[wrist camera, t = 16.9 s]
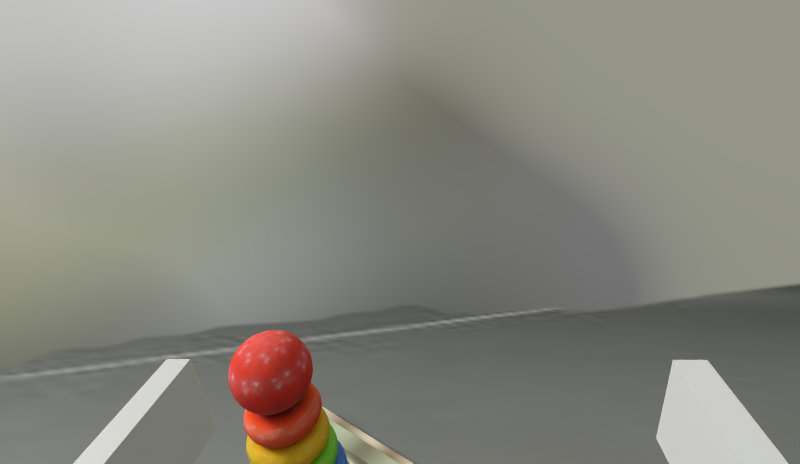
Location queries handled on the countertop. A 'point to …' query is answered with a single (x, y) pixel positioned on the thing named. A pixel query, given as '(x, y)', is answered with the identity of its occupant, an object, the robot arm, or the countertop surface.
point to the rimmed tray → (362, 444)
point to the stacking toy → (282, 402)
